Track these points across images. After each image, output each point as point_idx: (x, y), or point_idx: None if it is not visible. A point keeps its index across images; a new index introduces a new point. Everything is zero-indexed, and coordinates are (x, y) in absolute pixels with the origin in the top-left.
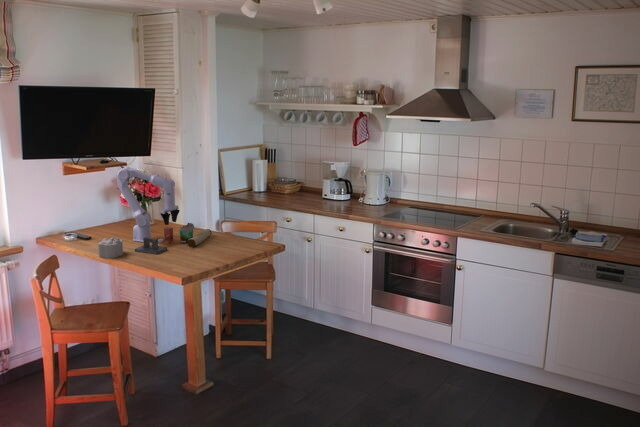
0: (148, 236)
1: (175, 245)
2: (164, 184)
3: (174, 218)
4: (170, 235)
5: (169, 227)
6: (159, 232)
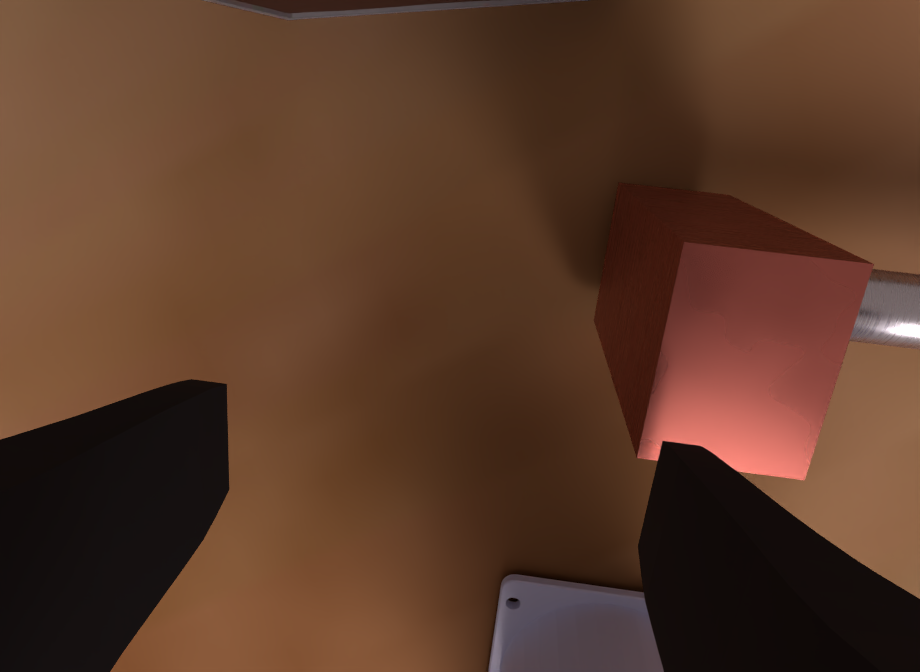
0: (649, 662)
1: (795, 36)
2: None
3: (151, 489)
4: (761, 219)
5: (679, 360)
6: None
